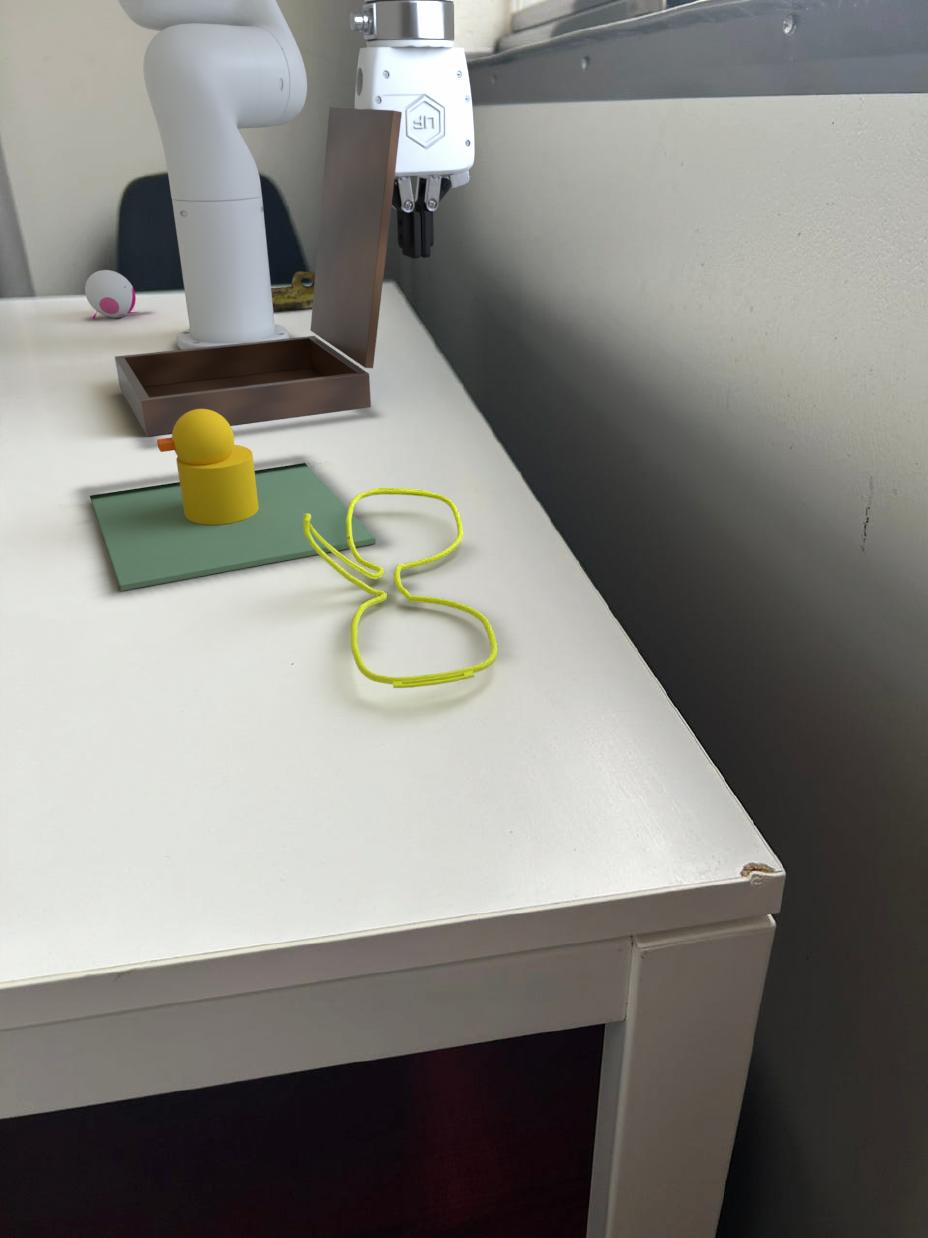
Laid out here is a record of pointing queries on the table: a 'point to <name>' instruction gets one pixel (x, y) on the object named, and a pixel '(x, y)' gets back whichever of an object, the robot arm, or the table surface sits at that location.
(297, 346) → the chest
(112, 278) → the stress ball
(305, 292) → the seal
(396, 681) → the glasses
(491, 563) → the table surface
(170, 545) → the mat
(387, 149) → the lid
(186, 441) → the duck
